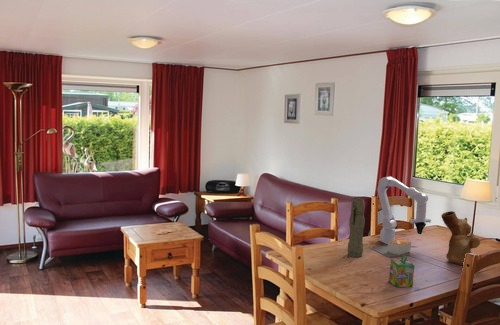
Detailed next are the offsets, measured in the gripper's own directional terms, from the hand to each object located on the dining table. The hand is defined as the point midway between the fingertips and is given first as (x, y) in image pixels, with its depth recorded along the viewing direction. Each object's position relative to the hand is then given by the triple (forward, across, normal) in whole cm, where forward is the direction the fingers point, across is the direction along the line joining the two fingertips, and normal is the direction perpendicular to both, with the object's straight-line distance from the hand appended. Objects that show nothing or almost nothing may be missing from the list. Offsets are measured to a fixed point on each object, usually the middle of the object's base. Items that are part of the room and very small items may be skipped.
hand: (419, 233), depth 294 cm
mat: (+10, -22, 0) cm, 24 cm away
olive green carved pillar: (+10, -48, -2) cm, 49 cm away
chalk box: (+10, -51, -49) cm, 72 cm away
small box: (+6, -11, -1) cm, 13 cm away
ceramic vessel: (+10, +5, -28) cm, 30 cm away
